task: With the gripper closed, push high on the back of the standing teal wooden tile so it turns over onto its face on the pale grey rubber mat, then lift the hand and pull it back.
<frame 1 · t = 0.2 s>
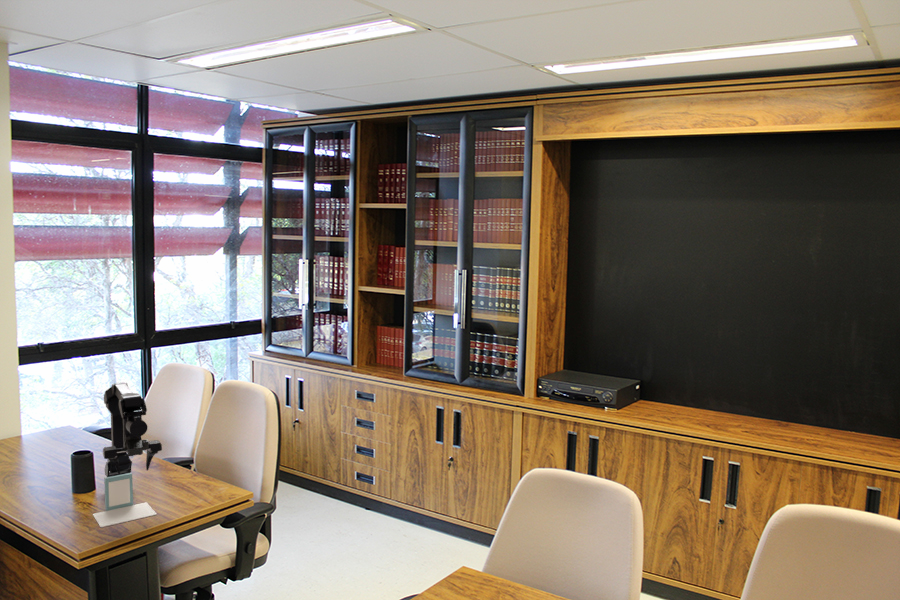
hand: (133, 472, 239), 14 cm above the table, fingers open, 9 cm apart
tile: (119, 507, 242), on the table
mat: (124, 514, 236), on the table
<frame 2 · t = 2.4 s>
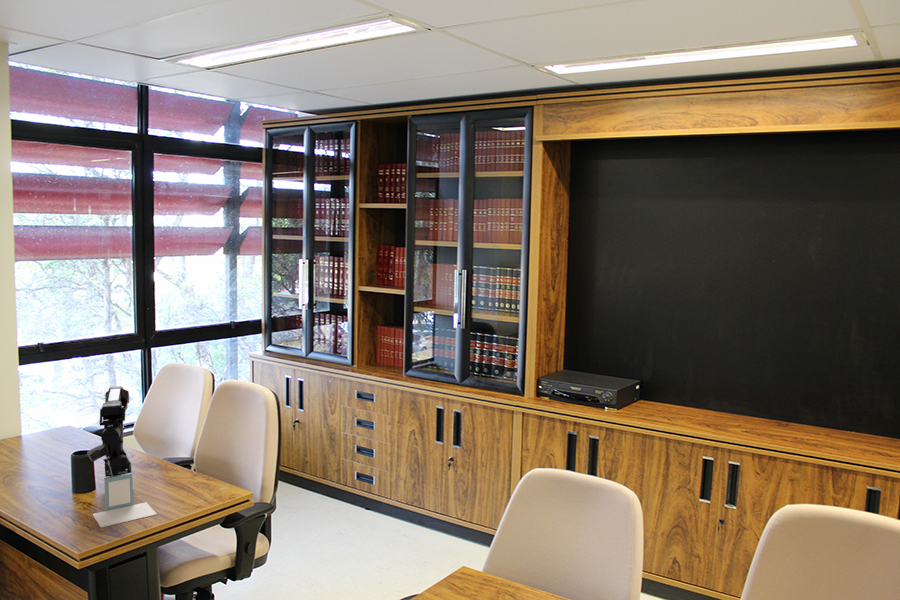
hand: (114, 478, 247), 9 cm above the table, fingers closed
nothing on the table moved.
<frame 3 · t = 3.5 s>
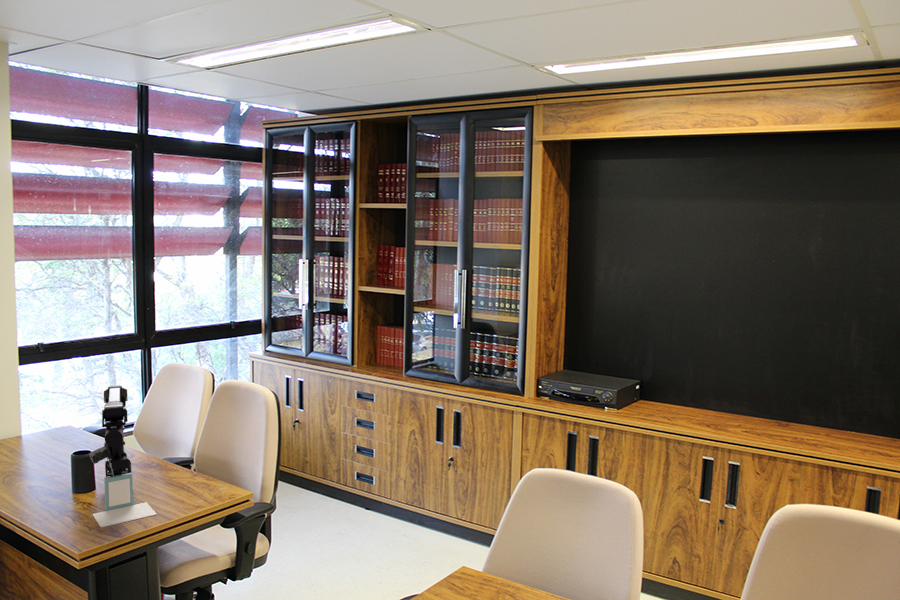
hand: (116, 480, 244), 9 cm above the table, fingers closed
nothing on the table moved.
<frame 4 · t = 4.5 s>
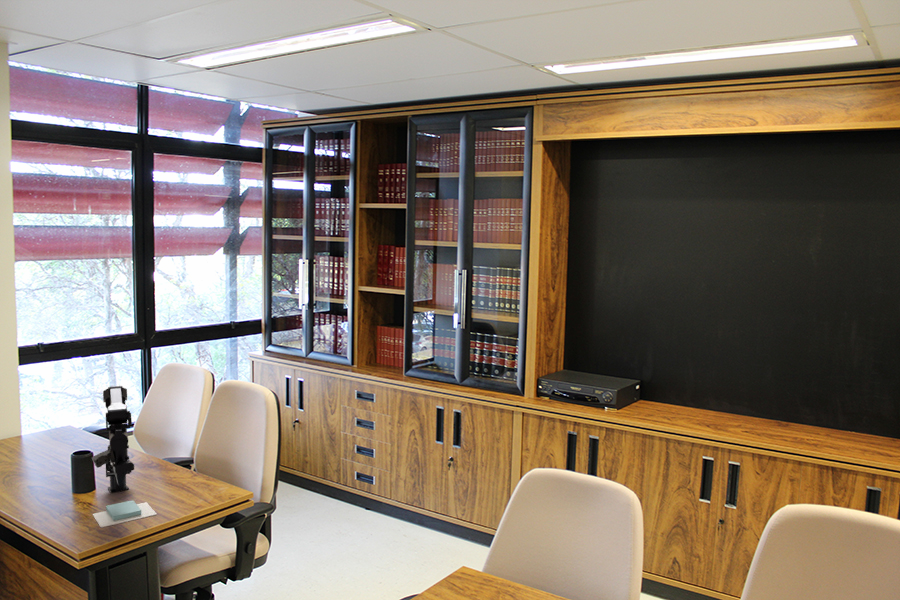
hand: (119, 484, 240), 9 cm above the table, fingers closed
tile: (119, 504, 242), point 1 cm above the table, tilted 90°, touching mat
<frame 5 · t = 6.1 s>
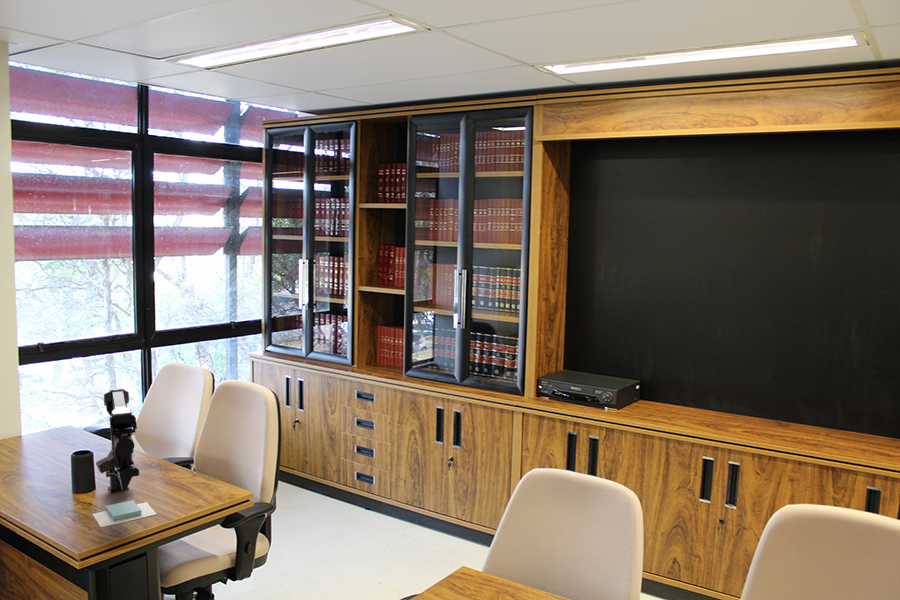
hand: (124, 490, 235), 9 cm above the table, fingers closed
nothing on the table moved.
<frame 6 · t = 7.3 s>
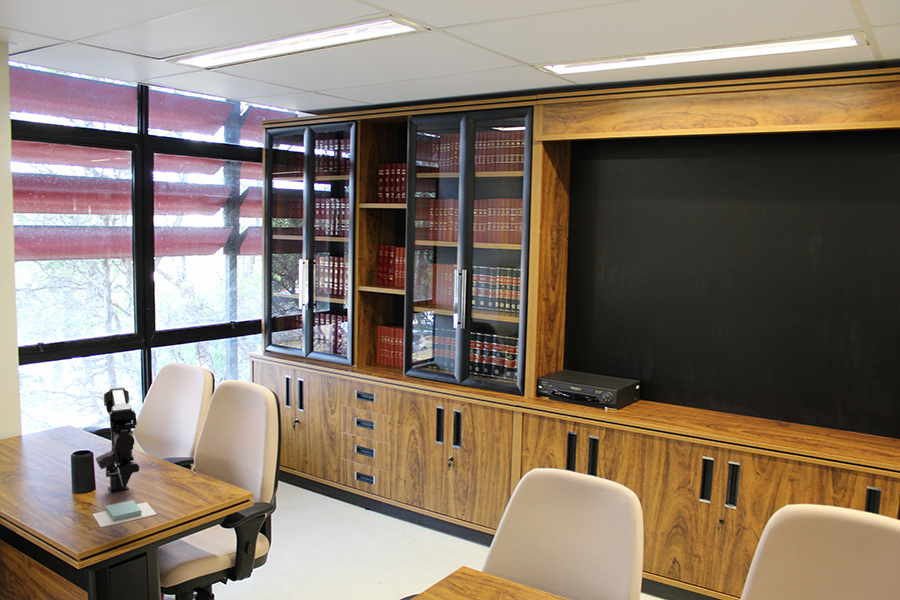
hand: (124, 486, 234), 11 cm above the table, fingers closed
nothing on the table moved.
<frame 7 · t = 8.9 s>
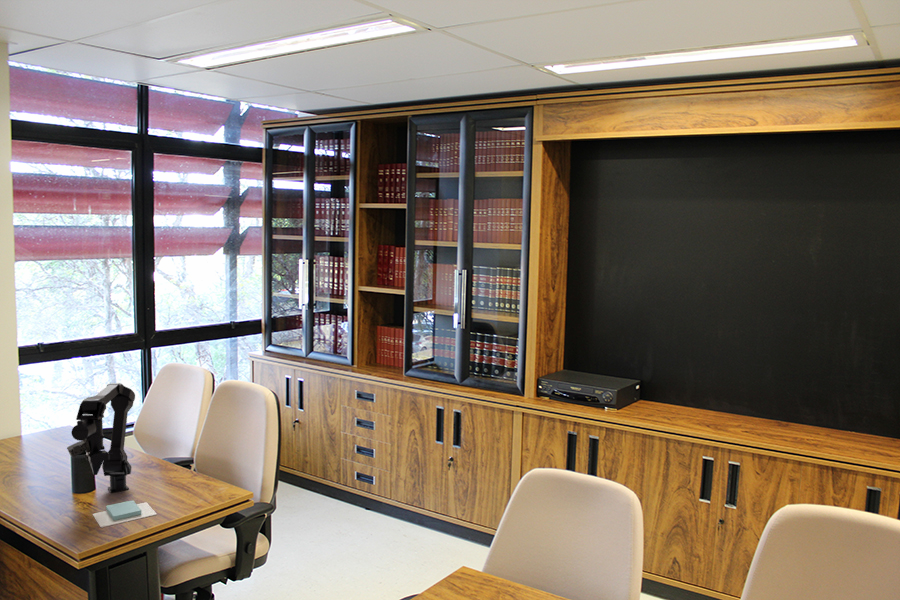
hand: (95, 474, 242), 12 cm above the table, fingers closed
nothing on the table moved.
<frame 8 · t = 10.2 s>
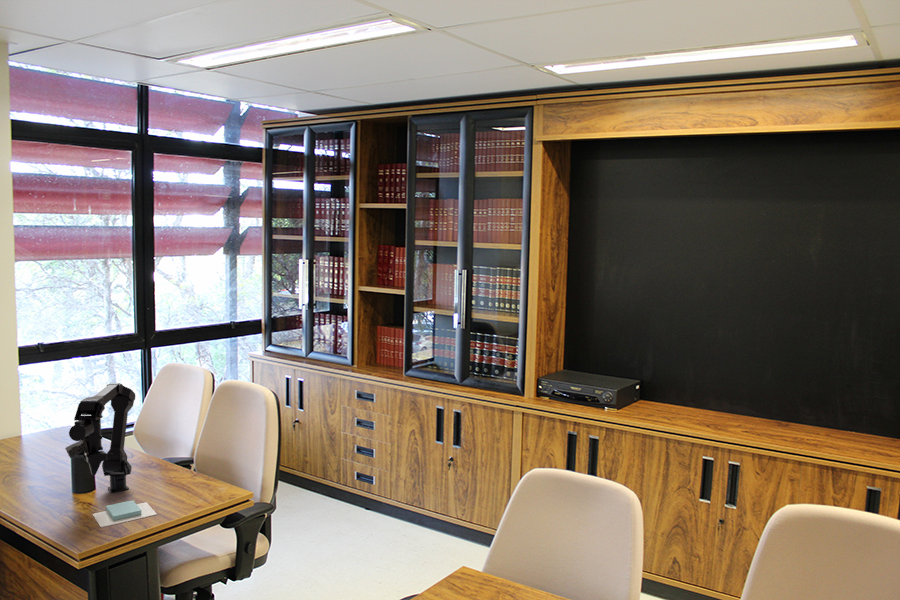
hand: (93, 475, 242), 12 cm above the table, fingers closed
nothing on the table moved.
at the end: tile tilted 90°; tile touching mat; the gripper is holding nothing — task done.
